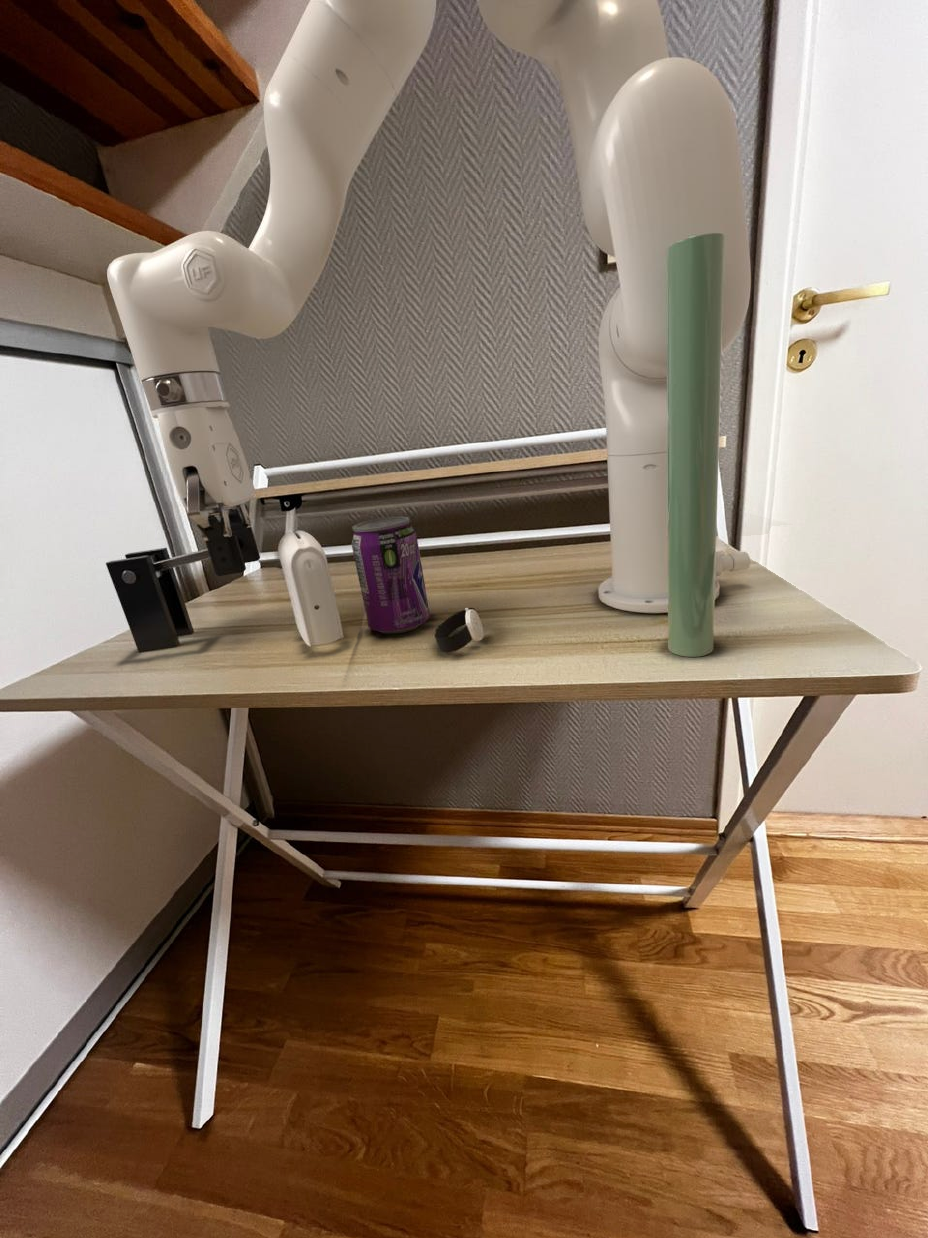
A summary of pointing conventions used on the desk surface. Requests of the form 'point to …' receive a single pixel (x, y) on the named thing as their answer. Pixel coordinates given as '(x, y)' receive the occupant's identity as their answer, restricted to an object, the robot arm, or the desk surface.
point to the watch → (462, 637)
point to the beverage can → (390, 574)
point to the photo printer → (310, 588)
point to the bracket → (150, 600)
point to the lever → (182, 560)
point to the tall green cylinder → (693, 437)
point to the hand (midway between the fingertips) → (239, 565)
